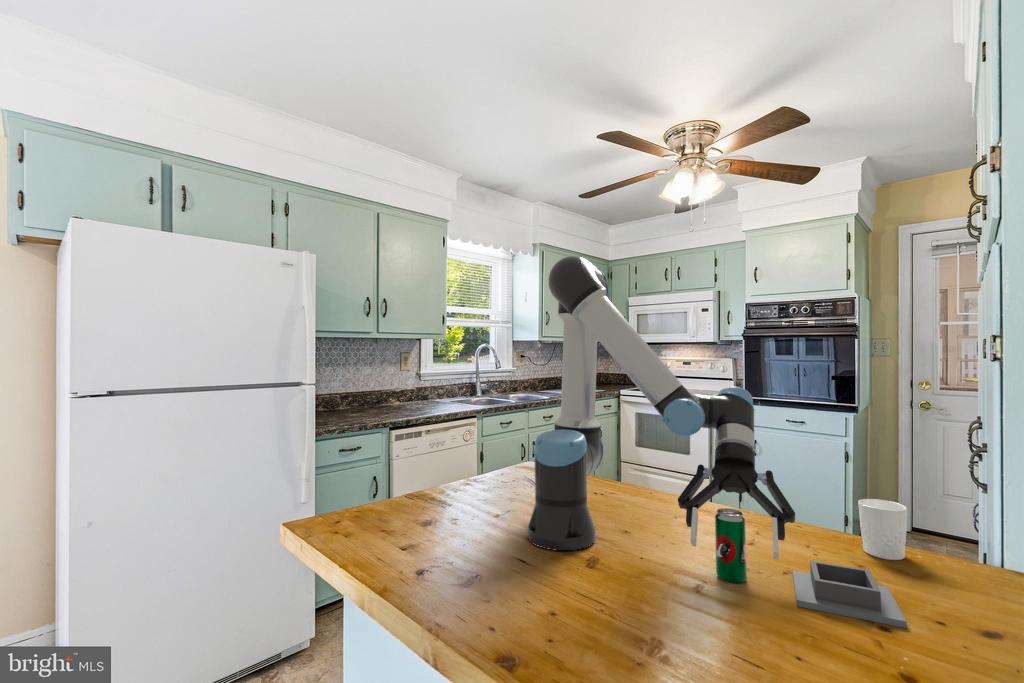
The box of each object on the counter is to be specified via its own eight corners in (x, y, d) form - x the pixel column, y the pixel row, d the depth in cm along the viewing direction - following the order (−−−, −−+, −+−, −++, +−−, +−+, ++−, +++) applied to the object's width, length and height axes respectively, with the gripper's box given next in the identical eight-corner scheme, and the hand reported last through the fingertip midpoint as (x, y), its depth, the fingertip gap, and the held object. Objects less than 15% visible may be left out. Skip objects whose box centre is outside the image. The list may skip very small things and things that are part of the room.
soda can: (750, 585, 84) (748, 517, 85) (719, 583, 85) (718, 515, 86) (742, 573, 89) (740, 508, 89) (713, 570, 90) (712, 506, 90)
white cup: (898, 548, 100) (896, 500, 100) (916, 564, 92) (914, 512, 93) (854, 544, 102) (852, 497, 103) (868, 558, 95) (866, 508, 95)
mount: (796, 606, 77) (796, 581, 77) (792, 576, 88) (792, 554, 88) (906, 628, 71) (905, 600, 71) (887, 593, 81) (887, 569, 81)
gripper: (803, 466, 96) (813, 571, 82) (674, 456, 108) (664, 546, 94) (804, 444, 92) (815, 551, 78) (670, 436, 103) (659, 528, 89)
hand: (733, 549), depth 86 cm, fingers open, 13 cm apart
